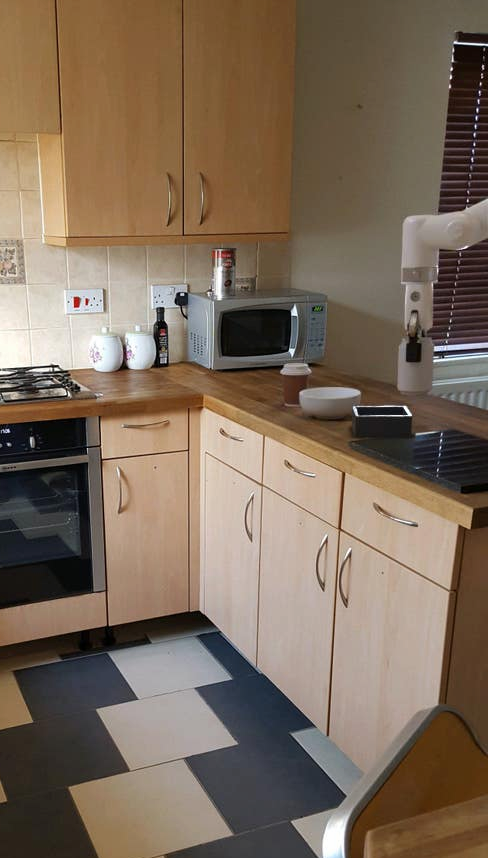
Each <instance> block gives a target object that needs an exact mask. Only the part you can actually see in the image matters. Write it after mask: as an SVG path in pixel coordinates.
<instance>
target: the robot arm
mask: <svg viewBox="0 0 488 858" xmlns="http://www.w3.org/2000/svg"><path fill="white" fill-rule="evenodd" d="M487 239H488V198H486V199H484V200H481V201H479V202H478V203H476V204H474V205H472V206H470V207H468V208H465V209H464V210H461V211H453V212H447V213H442V214H416V215H410V216H407V217H406V218H404V220H403V223H402V243H401V244H402V245H401V274H400V284H401V285H405V298H404V299H405V300H404V330H405V331H406V332H407V335H406V338H407V343H406V362H421V351H422V343H420V342H421V337H427V332H428V331H429V330H431V328H433V324H434V284H437V283H438V278H439V277H438V275H439V254H440V249H441V250H450V251H459V250H463V249H468V248H470V247H472V246H473V245H476V244H478V243H480V242H482V241H484V240H487Z"/></svg>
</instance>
